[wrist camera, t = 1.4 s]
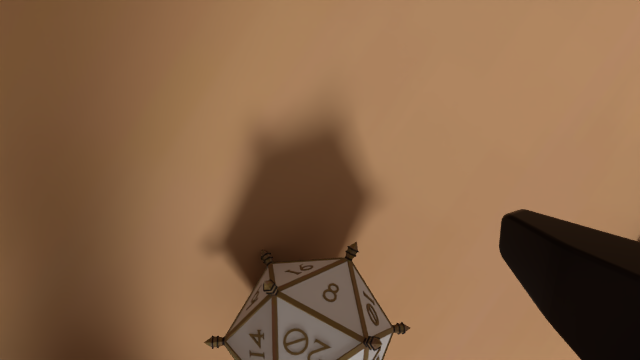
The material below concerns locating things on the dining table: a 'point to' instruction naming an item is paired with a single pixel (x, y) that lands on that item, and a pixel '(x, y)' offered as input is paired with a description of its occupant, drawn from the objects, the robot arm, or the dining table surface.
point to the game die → (310, 314)
